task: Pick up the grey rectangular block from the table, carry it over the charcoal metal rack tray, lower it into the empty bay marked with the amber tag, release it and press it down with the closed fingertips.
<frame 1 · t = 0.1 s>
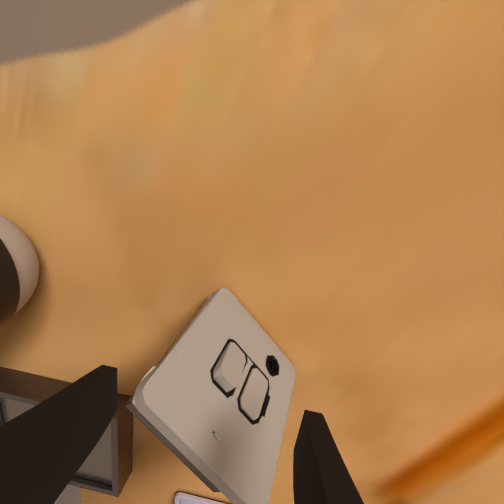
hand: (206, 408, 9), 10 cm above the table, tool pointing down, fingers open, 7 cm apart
rack: (21, 409, 26), on the table
dark egg shaped ornament: (10, 254, 21), on the table
electrical switch: (238, 343, 21), on the table
grey rectangular block: (66, 487, 29), on the table
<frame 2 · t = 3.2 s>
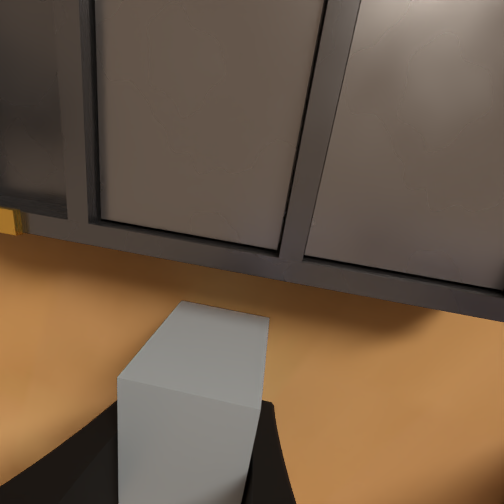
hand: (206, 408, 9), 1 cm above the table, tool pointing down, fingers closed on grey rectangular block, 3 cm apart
rack: (128, 71, 8), on the table
grey rectangular block: (215, 380, 11), on the table, touching gripper
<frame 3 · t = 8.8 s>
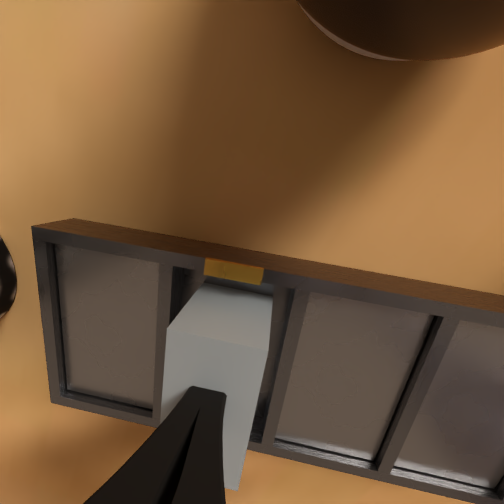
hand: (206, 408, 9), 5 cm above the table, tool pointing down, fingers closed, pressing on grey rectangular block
rack: (283, 344, 14), on the table
grey rectangular block: (228, 348, 13), point 1 cm above the table, touching gripper, rack
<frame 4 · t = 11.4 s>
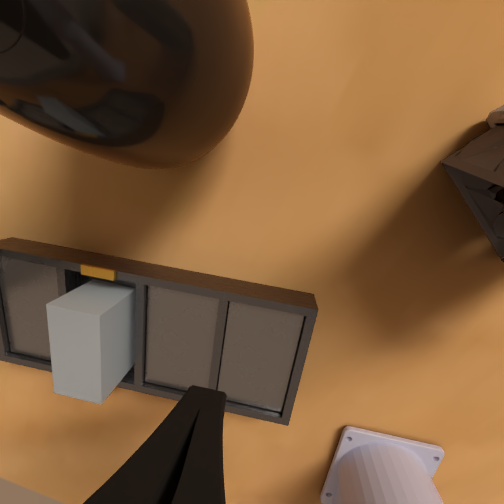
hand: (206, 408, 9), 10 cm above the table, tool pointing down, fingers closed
rack: (154, 321, 20), on the table
dark egg shaped ornament: (180, 88, 16), on the table
electrical switch: (487, 204, 15), on the table
grey rectangular block: (115, 323, 20), point 1 cm above the table, touching rack
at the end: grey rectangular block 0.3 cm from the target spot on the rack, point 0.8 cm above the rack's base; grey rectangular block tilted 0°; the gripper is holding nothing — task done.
